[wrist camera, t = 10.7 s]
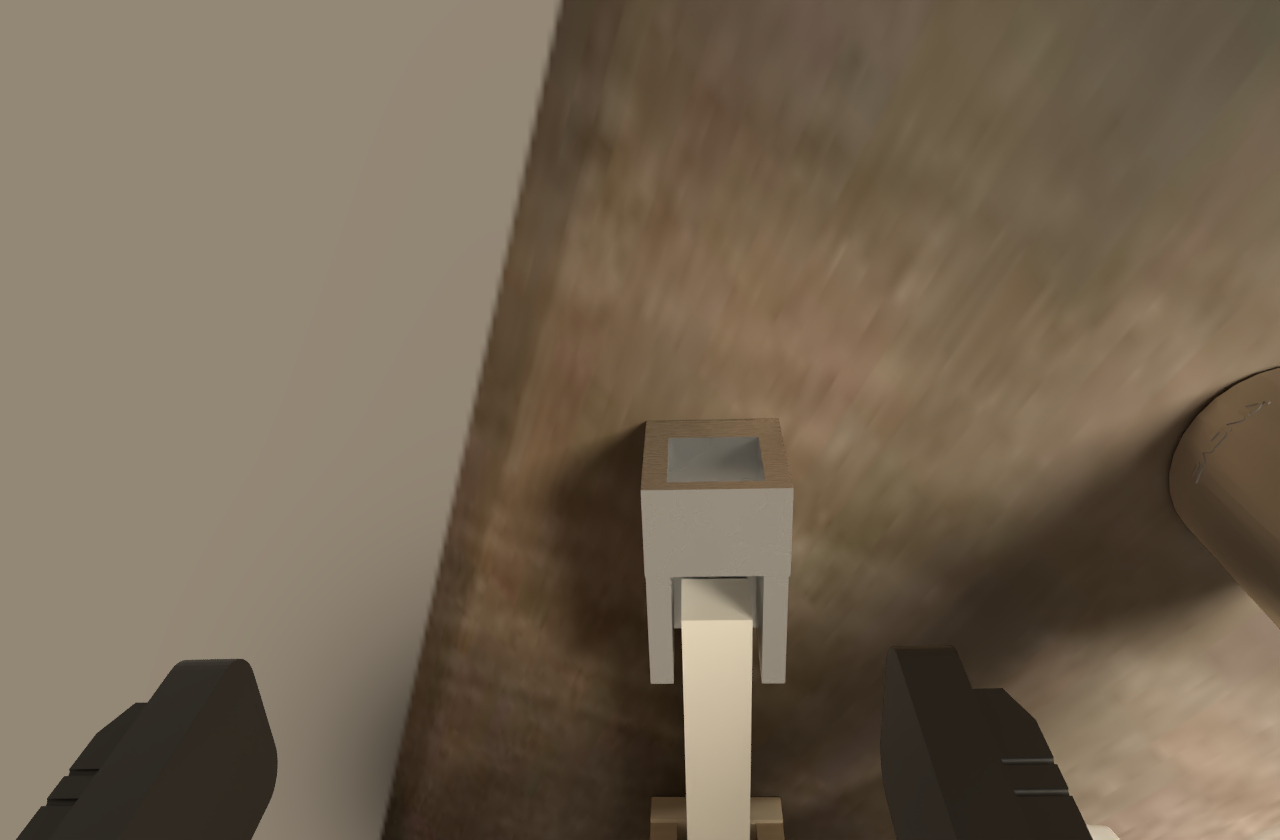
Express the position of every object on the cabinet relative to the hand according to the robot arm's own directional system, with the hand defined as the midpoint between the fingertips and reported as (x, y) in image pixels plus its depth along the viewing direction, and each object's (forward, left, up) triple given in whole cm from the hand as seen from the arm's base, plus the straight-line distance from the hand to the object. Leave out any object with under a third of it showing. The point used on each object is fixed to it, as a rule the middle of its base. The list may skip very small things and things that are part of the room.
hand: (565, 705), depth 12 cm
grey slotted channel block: (-9, +11, -28) cm, 32 cm away
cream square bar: (-15, +21, -26) cm, 36 cm away
